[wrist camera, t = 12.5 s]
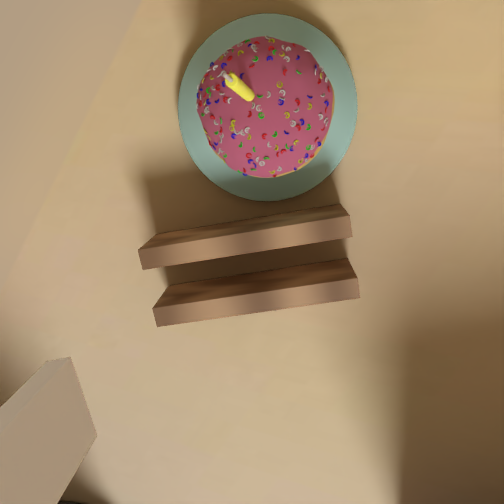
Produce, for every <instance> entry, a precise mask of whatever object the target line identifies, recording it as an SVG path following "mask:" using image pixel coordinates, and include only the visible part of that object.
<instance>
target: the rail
mask: <svg viewBox="0 0 504 504" xmlns="http://www.w3.org/2000/svg"><path fill="white" fill-rule="evenodd" d="M349 237H352V230H351V222H350V215H349V214H348V213H347V212H346V210H345V209H344V208H343V206H342V205H341V204H336V205H330V206H324V207H318V208H312V209H306V210H300V211H294V212H288V213H282V214H276V215H270V216H264V217H258V218H252V219H246V220H240V221H234V222H228V223H222V224H216V225H210V226H204V227H197V228H191V229H185V230H179V231H173V232H167V233H161V234H156V235H155V236H154V237H153V238H151V239H150V240H149V241H148V242H147V243H146V244H144V245H143V246H142V247H141V248H140V249H138V253H139V257H140V261H141V265H142V269H143V270H146V269H152V268H158V267H165V266H171V265H177V264H184V263H190V262H196V261H203V260H209V259H215V258H222V257H228V256H234V255H241V254H247V253H253V252H260V251H266V250H273V249H279V248H285V247H292V246H298V245H304V244H311V243H317V242H323V241H330V240H336V239H342V238H349Z"/></svg>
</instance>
